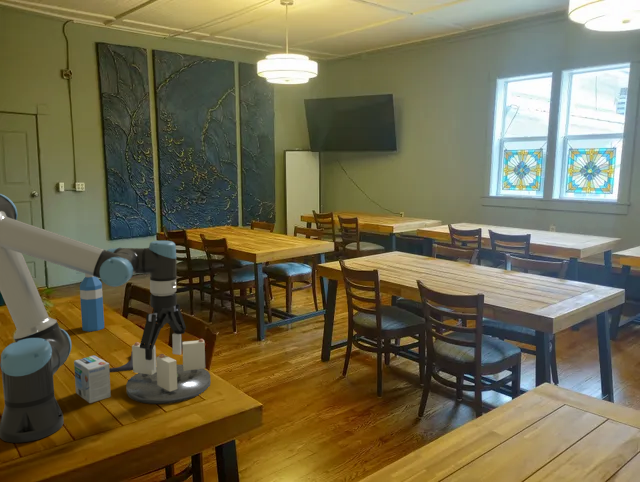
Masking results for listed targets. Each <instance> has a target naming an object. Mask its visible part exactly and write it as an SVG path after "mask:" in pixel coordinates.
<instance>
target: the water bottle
mask: <svg viewBox="0 0 640 482" xmlns="http://www.w3.org/2000/svg"><path fill="white" fill-rule="evenodd" d="M101 281H102V280H101V279H100V278H97V277H94V276H91V275H88V274H85V273H84V278H83V280H82V281H81V282H80V284H79V296H80V297H79V298H80V311H81V312H80V313H81V326H82V331H85V332H95V331H100V330H101V331H102V330H103V329H105V316H104V298H103V282H101Z"/></svg>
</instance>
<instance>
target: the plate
mask: <svg viewBox="0 0 640 482" xmlns="http://www.w3.org/2000/svg"><path fill="white" fill-rule="evenodd" d="M176 365H177V389H176V390H173V391H170V392H164V388H162V387H160V386H158V385H157V372H156V373H154V374H152V375H149V374H148V376H146V377H142V373H136V374H134V375H132V376H131V377H130V378H128V380H127V382H126V385H125V387H126V389H125V390H126V394H127V395H126V396H128V397H129V399H131V400H133V401H136V402H138V403H143V404H148V405H149V404H150V405H167V404H175V403H179V402H183V401H188V400H190V399H191V400H192V399H193V398H196V397H198V396H200V395H201V393H202V392H203V393H205V392H206V391H207V390H208V389H209V388H210V386H211V374H210V372H209V371H208V370H207V369H206V368H205V369H197V372H196V373H192V372H191V370H186V371H184V370H183V364H176ZM156 371H157V366H156ZM208 387H209V388H208ZM207 388H208V389H207ZM206 389H207V390H206ZM205 390H206V391H205ZM204 391H205V392H204ZM203 393H202V394H203ZM199 394H200V395H199ZM195 396H196V397H195ZM187 399H188V400H187Z"/></svg>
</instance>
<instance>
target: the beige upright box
mask: <svg viewBox="0 0 640 482" xmlns="http://www.w3.org/2000/svg"><path fill="white" fill-rule="evenodd" d="M205 344H206V343H205V340H204V339H203V338H200V339H198V340H187V341H181V347H182V365H183V370H184V371H186V370H191V372H192V373H196V372H197V369H205V370H206V351H205V350H206V349H205V348H206V347H205Z"/></svg>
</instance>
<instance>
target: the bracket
mask: <svg viewBox="0 0 640 482" xmlns="http://www.w3.org/2000/svg"><path fill="white" fill-rule="evenodd" d="M130 353H131V354H130V360H129V361H128V362H127V363H125V364H123V365H121V366H118V367H109V373H116V372H127V371H133V356H132V351H131V352H130Z"/></svg>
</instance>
